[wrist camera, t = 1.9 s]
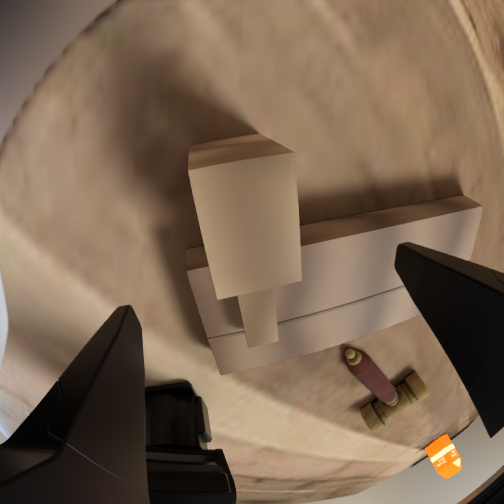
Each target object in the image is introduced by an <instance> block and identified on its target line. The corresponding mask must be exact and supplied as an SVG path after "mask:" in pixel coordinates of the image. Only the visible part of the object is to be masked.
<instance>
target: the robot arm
mask: <svg viewBox="0 0 504 504" xmlns="http://www.w3.org/2000/svg"><path fill="white" fill-rule="evenodd" d="M394 267H395V270H396V272H397V274H398V276H399V277H400V279H401V281H402V283H403V284H404V286H405V288H406V290H407V291H408V293H409V295H410V297H411V299H412V300H413V302H414V304H415V305H416V307H417V308H418V310H419V311H420V313H421V314H422V316H423V317H424V319H425V321H426V322H427V324H428V325H429V327H430V328H431V330H432V331H433V333H434V335H435V336H436V338H437V339H438V341H439V343H440V344H441V346H442V348H443V349H444V351H445V353H446V354H447V356H448V358H449V359H450V361H451V363H452V364H453V366H454V368H455V370H456V371H457V373H458V375H459V377H460V379H461V380H462V382H463V384H464V386H465V388H466V390H467V392H468V394H469V396H470V398H471V400H472V402H473V404H474V405H475V407H476V409H477V412H478V414H479V416H480V418H481V420H482V422H483V424H484V426H485V428H486V430H487V432H488V435H489V436H490V438H492V437H493V436H494V435H495V434H497V433H498V432H499V431H500V430H501V429H502V428H503V427H504V273H502V272H499V271H496V270H493V269H490V268H487V267H485V266H482V265H479V264H476V263H473V262H470V261H467V260H464V259H461V258H458V257H455V256H452V255H449V254H446V253H443V252H440V251H437V250H434V249H430V248H427V247H424V246H421V245H418V244H414V243H411V242H404V243H400V244H398V246H397V249H396V256H395V262H394ZM211 440H212V437H211V431H210V424H209V417H208V410H207V407H206V405H205V403H204V401H203V399H202V398H201V397H200V396H197V394H196V392H195V390H194V388H193V386H192V384H191V383H187V382H186V383H179V384H172V385H166V386H158V387H151V388H145V368H144V355H143V341H142V328H141V325H140V322H139V320H138V318H137V316H136V314H135V312H134V310H133V308H132V306H131V305H124V306H119V307H118V308H117V309H116V310H115V311H114V312H113V313H112V314H111V316H110V317H109V318H108V319H107V320H106V321H105V323H104V324H103V325H102V326H101V327H100V328H99V330H98V331H97V332H96V333H95V334H94V335H93V337H92V338H91V339H90V340H89V341H88V343H87V344H86V345H85V346H84V348H83V349H82V350H81V351H80V352H79V354H78V355H77V356H76V357H75V359H74V360H73V361H72V362H71V364H70V365H69V366H68V367H67V369H66V370H65V371H64V372H63V374H62V375H61V376H60V377H59V379H58V381H56V383H55V384H54V385H53V386H52V388H51V389H50V390H49V392H48V393H47V394H46V395H45V397H44V398H43V399H42V400H41V402H40V403H39V404H38V405H37V406H36V408H35V409H34V410H33V411H32V412H31V413H30V415H29V416H28V417H27V418H26V419H25V420H24V421H23V423H22V424H21V425H20V426H19V427H18V428H17V430H16V431H15V432H14V433H13V434H12V436H11V437H10V438H9V439H8V440H6V441H5V442H4V443H2V444H0V504H236V488H235V483H234V480H233V478H232V475H231V472H230V470H229V467H228V464H227V462H226V459H225V456H224V453H223V451H222V449H215V450H208V449H207V442H211ZM457 504H504V465H503V466H502V467H501V468H500V469H499V470H498V471H497V472H496V473H495V474H494V475H493V476H491V477H490V478H489V479H488V480H487V481H486V482H485V483H483V484H482V485H481V486H480V487H478V488H477V489H476V490H475V491H473V492H472V493H471V494H470V495H468V496H467V497H466V498H464V499H463V500H462V501H460V502H459V503H457Z"/></svg>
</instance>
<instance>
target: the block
mask: <svg viewBox="0 0 504 504" xmlns="http://www.w3.org/2000/svg"><path fill="white" fill-rule="evenodd" d="M188 173H189V178H190V183H191V188H192V193H193V197H194V202H195V207H196V211H197V216H198V220H199V225H200V229H201V234H202V238H203V242H204V247H205V251H206V255H207V259H208V263H209V268H210V272H211V276H212V280H213V284H214V288H215V292H216V296H217V300H219V299H224V298H229V297H233V296H237V299H238V304H239V308H240V313H241V318H242V323H243V328H244V333H245V337H246V341H247V345H248V348H252V347H256V346H260V345H264V344H268V343H273V342H277V341H279V339H278V328H277V317H276V307H275V297H274V287H278V286H282V285H286V284H290V283H295V282H299V281H302V270H301V245H300V224H299V206H298V191H297V176H296V163H295V152H293V151H291V150H289V149H288V148H286V147H284V146H282V145H280V144H278V143H277V142H275V141H273V140H271V139H269V138H267V137H265V136H263V135H261V134H252V135H246V136H239V137H233V138H227V139H221V140H216V141H211V142H205V143H200V144H195V145H190V146H189V153H188Z"/></svg>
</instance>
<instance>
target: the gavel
mask: <svg viewBox="0 0 504 504" xmlns="http://www.w3.org/2000/svg"><path fill="white" fill-rule="evenodd" d="M345 356H346V357H347V362H348V365H349V370H350V372H351V373H352V374H353V375H354V376H355V377H357V378H358V379H359V380H360V381H361V382H362V383H363V384H364V385H365V386H366V387H367V388H368V389H369V390H370V391H371V392H372V393H373V394H374V395H375V396H376V397H378V398H379V399H378V401H376V402H375V403H373V404H372V403H369V404H367V405H366V406H364V407H363V408H361V409H360V413H361V416H362V418H363V420H364V422H365V423H366V425H367V426H368V427H369V429H370V430H371V431H374V432H375V431H376V430H378V429H380V428H381V427H383V426H384V425H385V423H384V422H386V421H387V420H390V419H392V418H394V417H395V416H397V415H398V414H400V413H401V412H402V411H404V410H405V409H407V408H408V407H410V406H411V405H412V403H414V402H415V401H416V400H418V401H419V402H420V401H421V400H423V399H424V398H425V397H427V396H428V395H429V390H428V389H427V387H426V385H425V384H424V382H423V381H422V379H421V378H420V376H419V375H418V374H417V372H415V371H414V372H413V373H412V374H410V375H409V376H408V377H406V378H405V380H406V381H405V382H404V383H402V384H401V385H400V384H399V385H398V386H397V387H395V388H394V386H393V385H392V384H391V383H390V381H389V380H388V379H387V378H386V377H385V375H384V374H383V373H382V372H381V370H380V369H379V368H378V367H377V366H376V364H375V363H374V362H373V361H372V359H371V358H370V357H369V356H368V355H367V354H365V353H361V352H359V351H356V350H353V349H347V350H346V352H345Z"/></svg>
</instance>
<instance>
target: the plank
mask: <svg viewBox="0 0 504 504" xmlns="http://www.w3.org/2000/svg"><path fill="white" fill-rule="evenodd" d="M482 208H483V206H482V205H480V204H479V203H477V202H475V201H473V200H472V199H470V198H468V197H466V196H464V195H462V196H457V197H451V198H445V199H439V200H434V201H428V202H422V203H417V204H411V205H406V206H400V207H395V208H390V209H384V210H379V211H374V212H368V213H363V214H358V215H352V216H347V217H342V218H337V219H332V220H327V221H322V222H316V223H311V224H306V225H301V226H300V245H301V270H302V281H299V282H295V283H290V284H286V285H282V286H278V287H274V297H275V307H276V317H277V328H278V339H279V341H277V342H273V343H268V344H264V345H260V346H256V347H252V348H248V345H247V341H246V337H245V333H244V328H243V323H242V318H241V313H240V308H239V304H238V299H237V296H233V297H229V298H224V299H219V300H217V296H216V292H215V288H214V284H213V280H212V276H211V272H210V268H209V263H208V259H207V255H206V251H205V247H204V246H200V247H195V248H191V249H186V272H187V275H188V279H189V282H190V285H191V289H192V292H193V295H194V298H195V301H196V305H197V308H198V311H199V314H200V317H201V320H202V323H203V326H204V329H205V332H206V335H207V338H208V341H209V344H210V347H211V350H212V353H213V355H214V358H215V361H216V364H217V367H218V369H219V372H220V375H224V374H229V373H234V372H239V371H243V370H248V369H252V368H256V367H261V366H265V365H269V364H273V363H277V362H280V361H284V360H288V359H292V358H295V357H299V356H302V355H306V354H309V353H313V352H316V351H320V350H323V349H326V348H329V347H332V346H336V345H339V344H342V343H345V342H348V341H351V340H354V339H357V338H359V337H362V336H365V335H368V334H371V333H374V332H376V331H379V330H382V329H384V328H387V327H390V326H392V325H395V324H397V323H400V322H402V321H405V320H407V319H410V318H412V317H414V316H417V315H419V314H421V313H420V311H419V310H418V308H417V307H416V305H415V304H414V302H413V300H412V299H411V297H410V295H409V293H408V291H407V290H406V288H405V286H404V284H403V283H402V281H401V279H400V277H399V276H398V274H397V272H396V270H395V267H394V262H395V256H396V249H397V246H398V244H400V243H404V242H411V243H414V244H418V245H421V246H424V247H427V248H430V249H434V250H437V251H440V252H443V253H446V254H449V255H452V256H455V257H458V258H461V259H464V260H467V261H470V258H471V255H472V251H473V248H474V244H475V240H476V236H477V232H478V227H479V223H480V218H481V213H482Z"/></svg>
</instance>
